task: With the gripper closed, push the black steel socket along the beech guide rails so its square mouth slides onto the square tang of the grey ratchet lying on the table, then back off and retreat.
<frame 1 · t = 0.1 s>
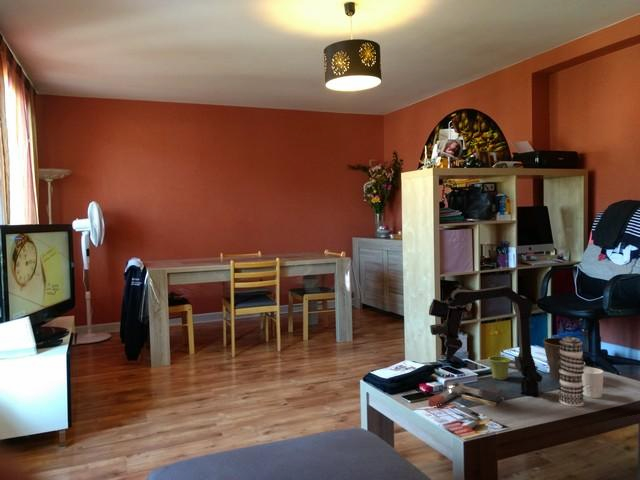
hand: (444, 357, 205), 15 cm above the table, tool pointing down, fingers open, 9 cm apart
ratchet: (455, 393, 208), on the table
plant pot 2: (499, 378, 225), on the table
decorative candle: (571, 402, 194), on the table
plant pot: (562, 377, 223), on the table
socket: (492, 402, 197), on the table
guide rails: (482, 399, 200), on the table
white cup: (592, 395, 201), on the table
c clamp: (516, 369, 238), on the table
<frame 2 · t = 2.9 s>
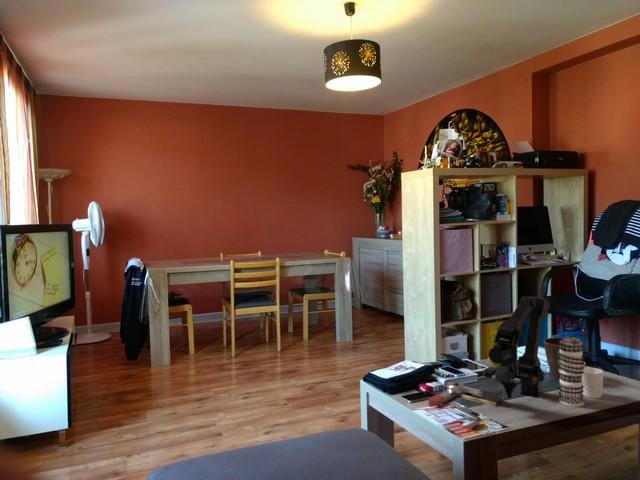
hand: (509, 398, 192), 3 cm above the table, tool pointing down, fingers closed
nothing on the table moved.
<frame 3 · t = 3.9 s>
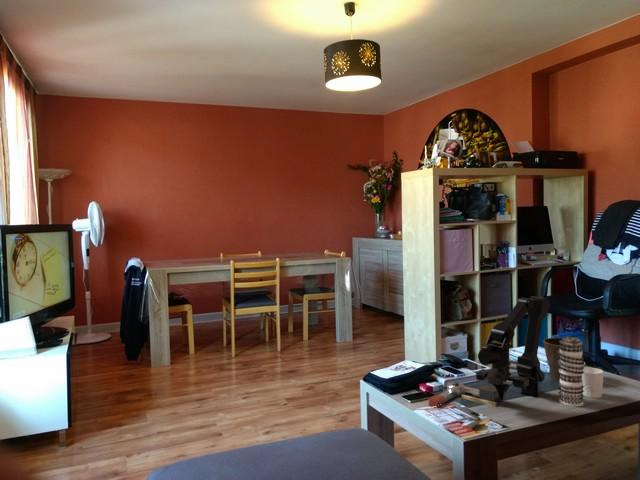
hand: (502, 400, 194), 2 cm above the table, tool pointing down, fingers closed
socket: (489, 401, 198), on the table, touching gripper
everything else where it was.
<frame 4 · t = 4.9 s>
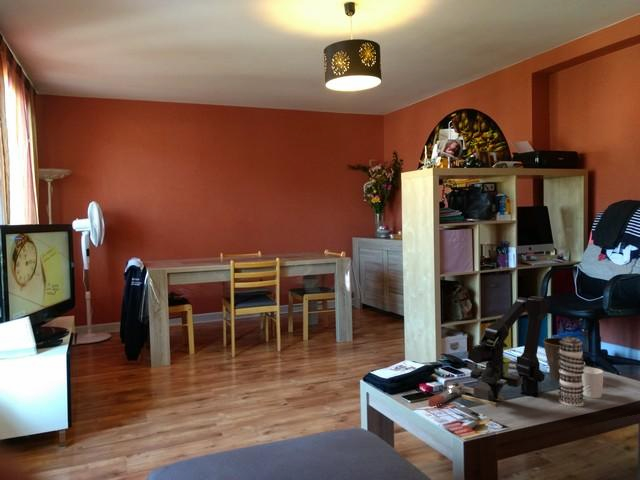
hand: (496, 398, 196), 2 cm above the table, tool pointing down, fingers closed
socket: (483, 399, 199), on the table, touching gripper
everything else where it was.
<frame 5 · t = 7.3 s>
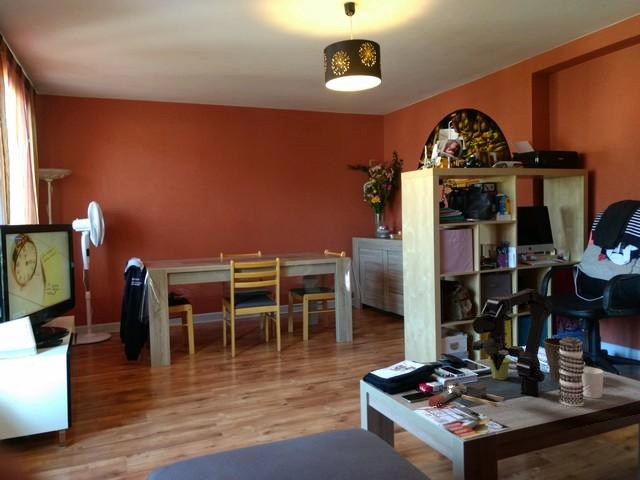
hand: (497, 370, 195), 13 cm above the table, tool pointing down, fingers closed
socket: (476, 398, 202), on the table
everything else where it was.
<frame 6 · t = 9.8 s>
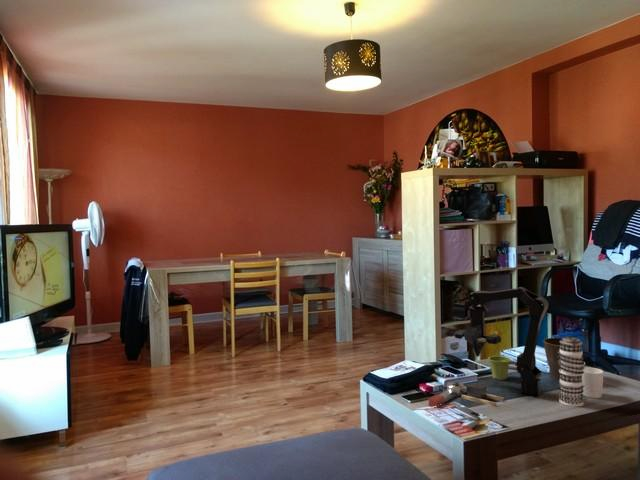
hand: (477, 356, 217), 12 cm above the table, tool pointing down, fingers closed
at the end: socket 0.3 cm from the target spot, on the table; socket tilted 0°; socket touching table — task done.
